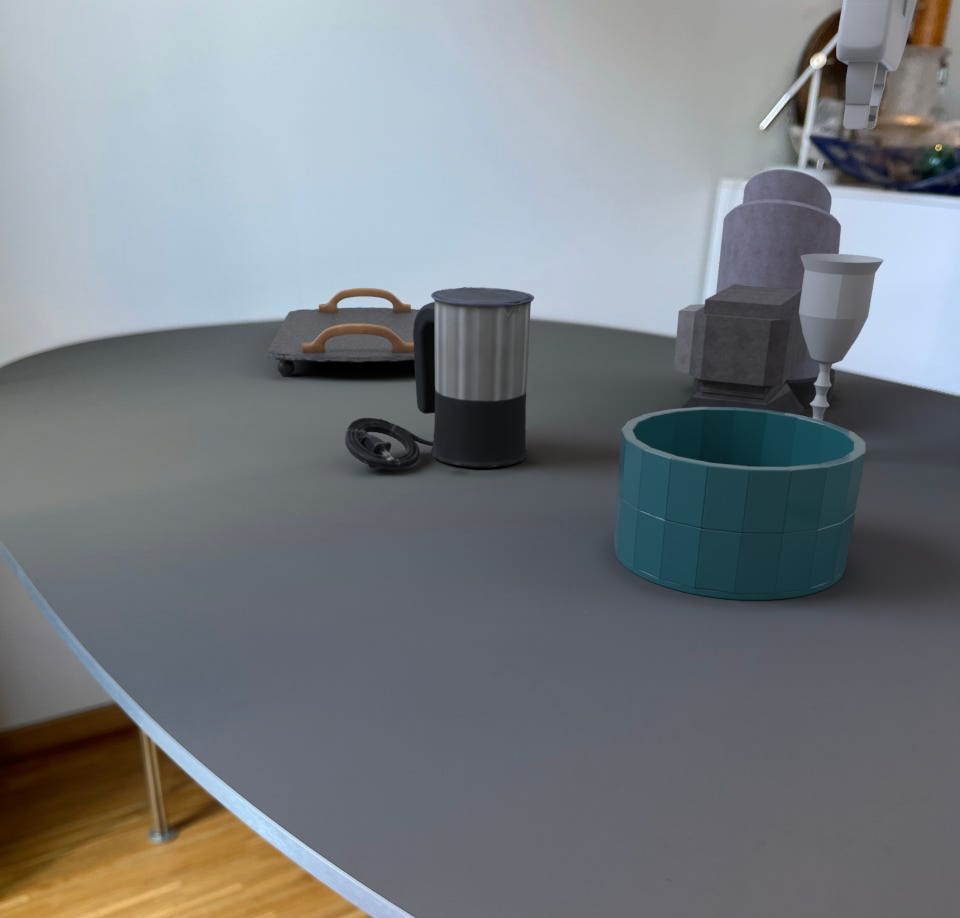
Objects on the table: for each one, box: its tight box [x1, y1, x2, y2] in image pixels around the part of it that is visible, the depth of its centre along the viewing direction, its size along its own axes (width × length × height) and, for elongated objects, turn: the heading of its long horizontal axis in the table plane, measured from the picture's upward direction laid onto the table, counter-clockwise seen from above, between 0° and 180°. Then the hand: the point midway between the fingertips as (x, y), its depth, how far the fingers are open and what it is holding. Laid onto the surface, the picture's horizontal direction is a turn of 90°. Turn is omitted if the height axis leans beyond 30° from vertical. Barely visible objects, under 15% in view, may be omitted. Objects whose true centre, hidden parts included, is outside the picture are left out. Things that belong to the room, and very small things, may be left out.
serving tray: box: [266, 287, 420, 377], centre depth 145 cm, size 39×23×6 cm, turn 4°
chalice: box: [799, 253, 885, 421], centre depth 99 cm, size 7×7×18 cm
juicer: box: [673, 168, 842, 415], centre depth 117 cm, size 30×16×24 cm, turn 155°
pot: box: [613, 407, 867, 601], centre depth 77 cm, size 17×17×9 cm
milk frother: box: [344, 286, 535, 470], centre depth 97 cm, size 14×16×15 cm
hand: (859, 129), depth 89 cm, fingers open, 8 cm apart
